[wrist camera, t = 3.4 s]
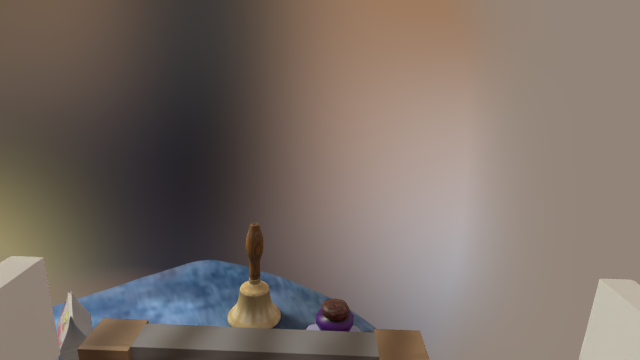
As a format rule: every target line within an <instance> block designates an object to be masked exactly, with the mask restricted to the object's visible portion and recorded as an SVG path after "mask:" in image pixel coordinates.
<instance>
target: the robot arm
mask: <svg viewBox="0 0 640 360" xmlns="http://www.w3.org/2000/svg"><path fill="white" fill-rule="evenodd" d="M59 356H60V349H59V343H58V337H57V332H56V326H55V321H54V315H53V309H52V304H51V298H50V293H49V287H48V281H47V276H46V270H45V264H44V259H43V257H22V256H10V257H9V258H7V259H6V260H4V261H3V262H1V263H0V360H56V359H57V358H58V357H59ZM579 360H640V285H638V284H637V283H636V282H635V281H633V280H619V279H600V280H599V284H598V288H597V291H596V295H595V299H594V303H593V307H592V311H591V315H590V319H589V322H588V327H587V330H586V334H585V338H584V342H583V346H582V349H581V353H580V357H579Z"/></svg>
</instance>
